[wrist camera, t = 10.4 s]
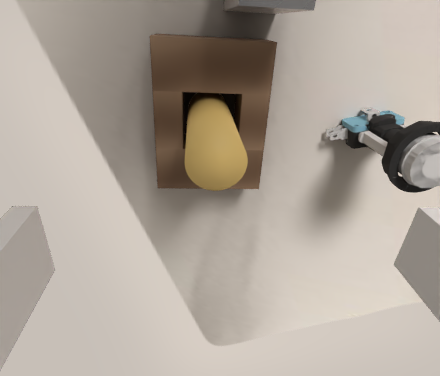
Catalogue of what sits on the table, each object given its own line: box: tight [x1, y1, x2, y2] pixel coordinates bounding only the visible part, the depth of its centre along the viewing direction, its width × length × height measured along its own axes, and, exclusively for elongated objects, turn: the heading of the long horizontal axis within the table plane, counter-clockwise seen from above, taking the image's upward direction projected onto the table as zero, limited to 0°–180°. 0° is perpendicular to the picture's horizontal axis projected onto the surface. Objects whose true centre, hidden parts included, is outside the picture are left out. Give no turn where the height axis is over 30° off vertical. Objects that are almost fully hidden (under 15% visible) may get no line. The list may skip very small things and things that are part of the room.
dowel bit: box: [185, 92, 248, 191], centre depth 23 cm, size 4×4×12 cm
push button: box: [326, 108, 440, 192], centre depth 25 cm, size 7×5×10 cm
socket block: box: [150, 34, 277, 189], centre depth 26 cm, size 12×9×4 cm
